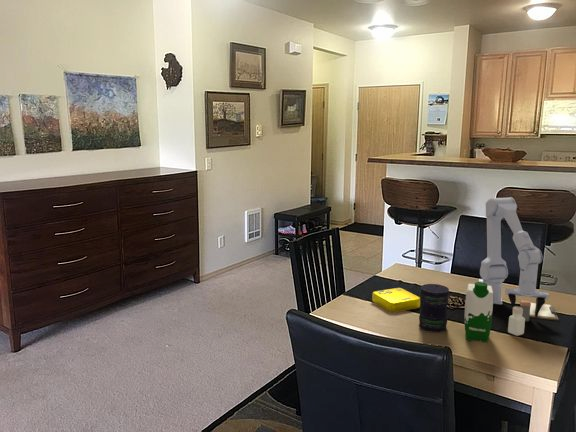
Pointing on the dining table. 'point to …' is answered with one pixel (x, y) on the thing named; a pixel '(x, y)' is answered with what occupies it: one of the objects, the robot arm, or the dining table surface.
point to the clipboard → (544, 312)
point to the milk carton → (478, 311)
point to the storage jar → (433, 308)
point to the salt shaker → (516, 322)
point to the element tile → (396, 300)
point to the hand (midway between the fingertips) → (524, 314)
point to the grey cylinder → (526, 309)
